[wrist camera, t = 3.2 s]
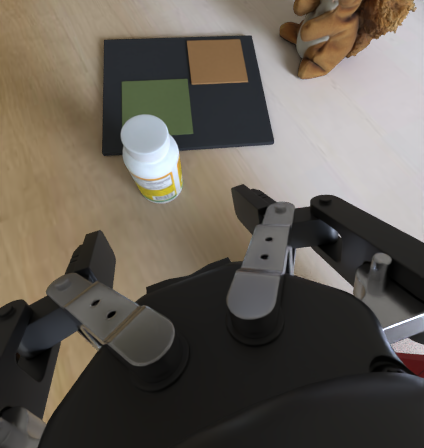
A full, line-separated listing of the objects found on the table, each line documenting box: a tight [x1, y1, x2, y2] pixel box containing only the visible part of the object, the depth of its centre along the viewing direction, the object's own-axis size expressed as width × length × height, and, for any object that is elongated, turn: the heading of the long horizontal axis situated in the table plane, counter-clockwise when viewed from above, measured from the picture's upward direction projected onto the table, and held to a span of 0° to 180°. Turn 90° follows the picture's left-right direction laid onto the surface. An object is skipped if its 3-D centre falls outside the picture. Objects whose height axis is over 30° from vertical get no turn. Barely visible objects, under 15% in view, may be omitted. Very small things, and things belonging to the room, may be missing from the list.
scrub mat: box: [102, 36, 274, 156], centre depth 33 cm, size 22×19×1 cm
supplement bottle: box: [121, 114, 183, 203], centre depth 24 cm, size 5×5×10 cm
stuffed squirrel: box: [280, 0, 416, 79], centre depth 30 cm, size 10×14×13 cm
